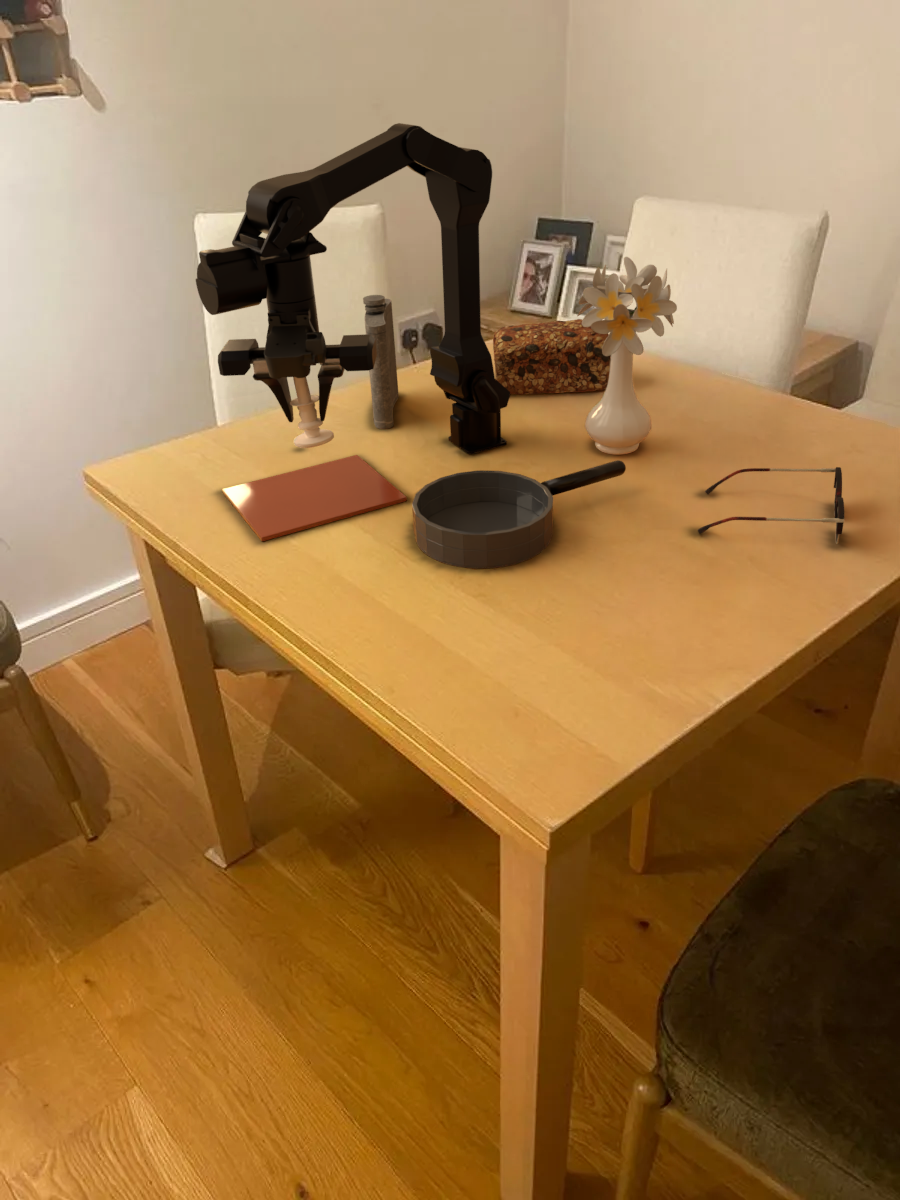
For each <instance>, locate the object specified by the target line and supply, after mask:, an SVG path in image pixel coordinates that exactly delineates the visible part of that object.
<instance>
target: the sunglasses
mask: <svg viewBox="0 0 900 1200" xmlns="http://www.w3.org/2000/svg"><path fill="white" fill-rule="evenodd" d="M750 472H821V473H834V481H833V489H835V491H834V501H833V502H834V503H833V515H834V517H823V518H794V517H793V518H792V517H791V518H790V517H765V516H730V517H727V518H723V519H720V520H717V521H714V522H711V523H708V524H706V525H703V526H702V527H700V528H698V529H697V532H698V533H699V534H700V535H701V534H702V533H705V532H706V531H708V530H709V529H711V528H713V527H716V526H719V525H721V524H724V523H728V522H731V521H755V522H756V521H757V522H758V521H760V522H761V521H762V522H763V521H764V522H765V521H766V522H767V521H768V522H770V521H771V522H813V523H815V522H816V523H818V522H820V523H835V544H839V541H840V535H843V530H844V523H845V502H844V498H843V471H842V468H841V467H840V466H836V467H834V468H833V467H832V468H830V467H829V468H825V467H823V468H774V467H773V468H772V467H771V468H770V467H767V468H765V467H764V468H763V467H759V468H758V467H754V468H753V467H752V468H751V467H750V468H749V467H748V468H741V469H737V470H735V471H733V472H731V473H730V474H728V475H726V476H725V477H723V478H721V479H720V480H718V481H717V482H715V483H713V484H711V485H710V486H709V487H708V488H707V489H705V491H704V492H705V494H706V495H710V494H711V493H712V492H713V491H714V490H715V489H716V488H717V487H718V486H719V485H721V484H722V483H724V482H726V481H728V480H729V479H730V478H732V477H734V476H735V475H738V474H741V473H750Z"/></svg>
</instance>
